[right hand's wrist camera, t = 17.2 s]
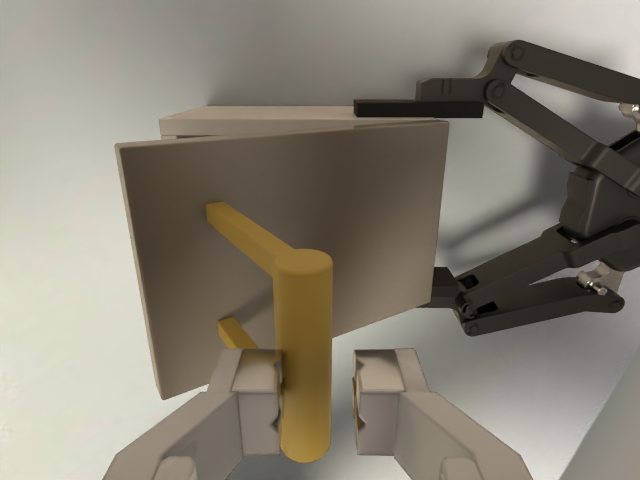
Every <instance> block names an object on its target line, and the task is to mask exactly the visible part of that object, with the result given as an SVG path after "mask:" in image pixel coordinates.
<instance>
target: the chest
mask: <svg viewBox="0 0 640 480" xmlns="http://www.w3.org/2000/svg"><path fill="white" fill-rule="evenodd" d="M422 120H438V119H436V118H433V117H356V115H355V114H354V106H204V107H200V108H197V109H193V110H189V111H186V112H182V113H179V114H175V115H172V116H168V117H165V118H161V119H159V124H160V132H161V135H162V136H161V139H162V140H168V139H181V138H194V137H208V136H221V135H234V134H248V133H261V132H275V131H288V130H301V129H315V128H328V127H341V126H355V125H368V124H381V123H395V122H408V121H422Z"/></svg>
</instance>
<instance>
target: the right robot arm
mask: <svg viewBox="0 0 640 480" xmlns="http://www.w3.org/2000/svg"><path fill="white" fill-rule="evenodd" d="M353 369H354V377H353V378H352V403H353V416H354V418H355V436H356V445H357V455H379V456H394V458H395V459H396V461H397V462H398V463H399V464H400V466H401V467H402V468H403V469H404V471H405V472H406V473H407V474H408V475H409V477H410V478H411V479H412V480H533V478H532V476H531V474H530V472H529V470H528V469H527V467H526V465H525V463H524V461H523V459H522V457H521V455H520V454H518V453H517V452H516V451H514V450H513V449H512V448H510V447H509V446H508V445H506V444H505V443H504V442H502V441H501V440H500V439H498V438H497V437H495V436H494V435H493V434H491V433H490V432H489V431H487V430H486V429H485V428H483V427H482V426H481V425H479V424H478V423H477V422H475V421H474V420H473V419H471V418H470V417H469V416H467V415H466V414H465V413H463V412H462V411H461V410H459V409H458V408H457V407H455V406H454V405H453V404H451V403H450V402H449V401H447V400H446V399H445V398H443V397H442V396H441V395H439V394H438V393H437V392H430V390H429V387H428V384H427V382H426V379H425V376H424V373H423V370H422V367H421V365H420V362H419V359H418V356H417V353H416V350H414V349H413V348H405V349H387V350H354V354H353ZM283 370H284V352H283V349H223V350H222V351H221V353H220V356H219V358H218V361H217V364H216V367H215V370H214V372H213V375H212V378H211V381H210V383H209V386H208V389H207V392H200V393H199V394H197V395H196V396H195V397H193V398H192V399H190V400H189V401H188V402H186V403H185V404H184V405H182V406H181V407H180V408H178V409H177V410H176V411H174V412H173V413H172V414H170V415H169V416H167V417H166V418H165V419H163V420H162V421H161V422H159V423H158V424H157V425H155V426H154V427H153V428H151V429H150V430H148V431H147V432H146V433H144V434H143V435H142V436H140V437H139V438H138V439H136V440H135V441H134V442H132V443H131V444H129V445H128V446H127V447H125V448H124V449H123V450H121V451H120V452H119V453H117V454H116V455H115V457H114V459H113V461H112V463H111V465H110V466H109V468H108V470H107V472H106V474H105V476H104V477H103V479H102V480H225V479H226V478H227V477H228V475H229V474H230V473H231V472H232V471H233V469H234V468H235V467H236V466H237V464H238V463H239V462H240V461H241V460H242V458H243V456H257V455H279V454H280V445H281V436H282V418H283V417H284V406H285V378H284V377H283Z"/></svg>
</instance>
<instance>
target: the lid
mask: <svg viewBox="0 0 640 480" xmlns="http://www.w3.org/2000/svg"><path fill="white" fill-rule="evenodd" d="M449 124H450V123H449V122H448V121H440V120H422V121H408V122H395V123H381V124H368V125H355V126H341V127H328V128H315V129H301V130H288V131H275V132H261V133H248V134H234V135H221V136H208V137H194V138H181V139H168V140H154V141H141V142H128V143H117V144H115V152H116V158H117V163H118V169H119V175H120V181H121V186H122V192H123V198H124V204H125V210H126V215H127V221H128V227H129V233H130V238H131V244H132V250H133V256H134V261H135V267H136V273H137V279H138V284H139V290H140V296H141V302H142V308H143V313H144V319H145V325H146V331H147V336H148V342H149V348H150V354H151V359H152V365H153V371H154V377H155V382H156V386H157V389H158V391H159V394H160V396H161V399H162V400H166V399H169V398H171V397H174V396H177V395H179V394H182V393H185V392H188V391H190V390H193V389H196V388H198V387H201V386H204V385H207V384H209V383H210V381H211V378H212V375H213V372H214V370H215V367H216V364H217V361H218V358H219V356H220V353H221V351H222V350H223V349H283V352H284V370H283V377H284V378H285V406H284V417H283V418H282V436H281V445H280V446H281V449H282V451H283V452H284V454H285V455H286V456H287V457H288V458H290V459H291V460H293V461H296V462H301V463H308V462H313V461H316V460H318V459H320V458H321V457H323V456H324V455H325V454H326V452H327V451H328V449H329V447H330V443H331V376H332V338H334V337H337V336H339V335H342V334H345V333H347V332H350V331H353V330H356V329H358V328H361V327H364V326H366V325H369V324H372V323H375V322H377V321H380V320H383V319H385V318H388V317H391V316H394V315H396V314H399V313H402V312H404V311H407V310H410V309H412V308H415V307H418V306H421V305H423V304H426V303H429V302H430V300H431V291H432V281H433V272H434V263H435V254H436V244H437V235H438V226H439V216H440V207H441V198H442V189H443V179H444V170H445V161H446V151H447V142H448V133H449Z"/></svg>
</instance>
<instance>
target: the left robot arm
mask: <svg viewBox="0 0 640 480" xmlns="http://www.w3.org/2000/svg"><path fill="white" fill-rule="evenodd" d="M487 58H488V60H487V62H486V64H485V66H484V68H483V70H482V72H481V73H480V74H479V75H477V76H476V77H473V78H426V79H423V80H421V81H418V82H417V85H416V97H415V100H355V99H354V114H355V115H356V117H433V118H482V116H483V109H484V106H486V107H487V108H489V109H491V110H492V111H494V112H495V113H497V114H498V115H500V116H501V117H503V118H504V119H506V120H508V121H509V122H511V123H512V124H514V125H515V126H517V127H518V128H520V129H522V130H523V131H525V132H526V133H528V134H529V135H531V136H532V137H534V138H535V139H537V140H539V141H540V142H542V143H543V144H545V145H546V146H548V147H549V148H551V149H553V150H554V151H556V152H557V153H558V154H559V155H560V156H561V157H563V158H565V159H566V160H568V161H569V162H571V163H572V164H574V165H575V166H577V168H576V170H575V172H570V173H569V178H568V182H567V194H568V197H567V200H566V202H565V204H564V206H563V208H562V210H561V214H560V219H559V222H561V223H559V224H557V225H555V226H553V227H551V228H549V229H547V230H545V231H544V232H543V233H542V236H541V237H539V238H537V239H535V240H533V241H531V242H529V243H527V244H524V245H522V246H520V247H518V248H516V249H514V250H512V251H510V252H507V253H505V254H503V255H501V256H499V257H497V258H495V259H493V260H491V261H488V262H486V263H484V264H482V265H480V266H478V267H476V268H474V269H472V270H469V271H467V272H465V273H463V274H461V275H459V276H457V277H455V278H454V277H453V275H452V274H451V272H450V271H449V269H448V268H447V267H434V272H433V281H432V291H431V300H430V302H429V303H426V304H423V305H421V306H418V307H415V308H420V307H421V308H426V307H427V308H452V309H453V311H454V313H455V315H456V317H457V319H458V321H459V323H460V324H461V326H462V328H463V330H464V332H465V333H466V334H467V335H468V336H478V335H482V334H487V333H491V332H496V331H500V330H504V329H509V328H513V327H518V326H522V325H527V324H531V323H535V322H540V321H544V320H549V319H553V318H558V317H562V316H566V315H571V314H575V313H580V312H584V311H589V312H603V313H616V312H618V311H620V310H621V309H622V308H623V307H624V304H625V301H624V299H623V298H622V297H621V296H619V295H618V294H617V290H618V288H619V285H620V282H621V280H622V277H623V274H624V272H625V271H630V270H633V269H635V268H637V267H640V79H638V78H635V77H632V76H629V75H626V74H623V73H620V72H617V71H614V70H611V69H608V68H605V67H602V66H599V65H595V64H592V63H589V62H586V61H583V60H580V59H577V58H574V57H571V56H568V55H565V54H562V53H559V52H556V51H553V50H550V49H547V48H544V47H541V46H538V45H535V44H532V43H529V42H526V41H522V40H515V41H509V42H503V43H498V44H495V45H493V46H492V47H491V48H490V50H489V51H488V55H487ZM515 73H516V74H519V75H522V76H525V77H528V78H531V79H534V80H537V81H541V82H544V83H547V84H550V85H553V86H556V87H559V88H562V89H566V90H569V91H572V92H575V93H578V94H581V95H584V96H587V97H591V98H594V99H597V100H601V101H605V102H614V103H620V104H619V110H620V111H621V112H622V114H623V115H624V116H625V117H627V118H632V119H633V120H635V122H636V124H637V129H635V130H633V131H631V132H629V133H628V134H626V135H625V136H623V137H621V138H620V139H618V140H616V141H615V142H613V143H612V144H610V145H608V146H606V145H604V144H601V143H599V142H597V141H595V140H594V139H592V138H591V137H589V136H588V135H586V134H585V133H583V132H582V131H580V130H579V129H577V128H576V127H574V126H573V125H571V124H570V123H568V122H567V121H565V120H564V119H562V118H561V117H559V116H558V115H556V114H555V113H553V112H552V111H550V110H549V109H547V108H546V107H544V106H543V105H541V104H540V103H538V102H537V101H535V100H534V99H532V98H531V97H529V96H528V95H526V94H525V93H523V92H522V91H520V90H519V89H517V88H516V87H514V86H513V85H511V82H512V80H513V77H514V75H515ZM571 240H574V241H575V242H576V243H572V242H571ZM595 260H599V261H600V262H601V263H600V265H599V267H598V268H597V269H595V270H593V271H589V272H584V271H580V272H578V273H577V277H566V278H559V279H554V280H550V281H546V282H541V283H537V284H533V285H529V284H531V283H534V282H536V281H538V280H540V279H543V278H545V277H547V276H549V275H551V274H554V273H556V272H558V271H560V270H562V269H565V268H579V267H582V266H584V265H586V264H588V263H590V262H593V261H595ZM527 285H529V286H527Z"/></svg>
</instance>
